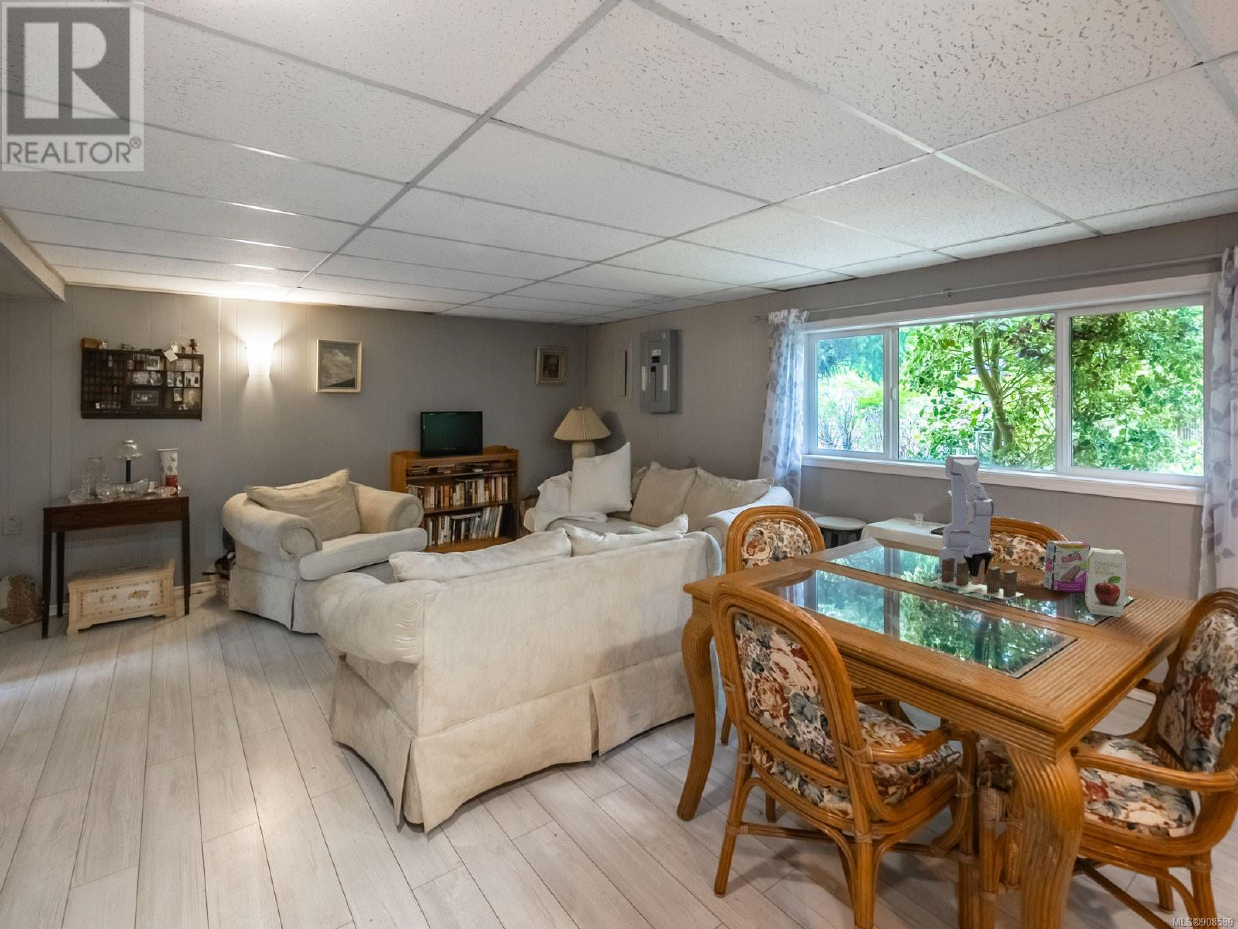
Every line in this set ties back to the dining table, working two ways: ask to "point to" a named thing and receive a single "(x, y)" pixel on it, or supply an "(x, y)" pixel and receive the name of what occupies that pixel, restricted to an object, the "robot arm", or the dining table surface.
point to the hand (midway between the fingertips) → (977, 574)
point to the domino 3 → (979, 574)
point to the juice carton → (1105, 582)
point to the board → (977, 589)
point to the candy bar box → (1066, 566)
